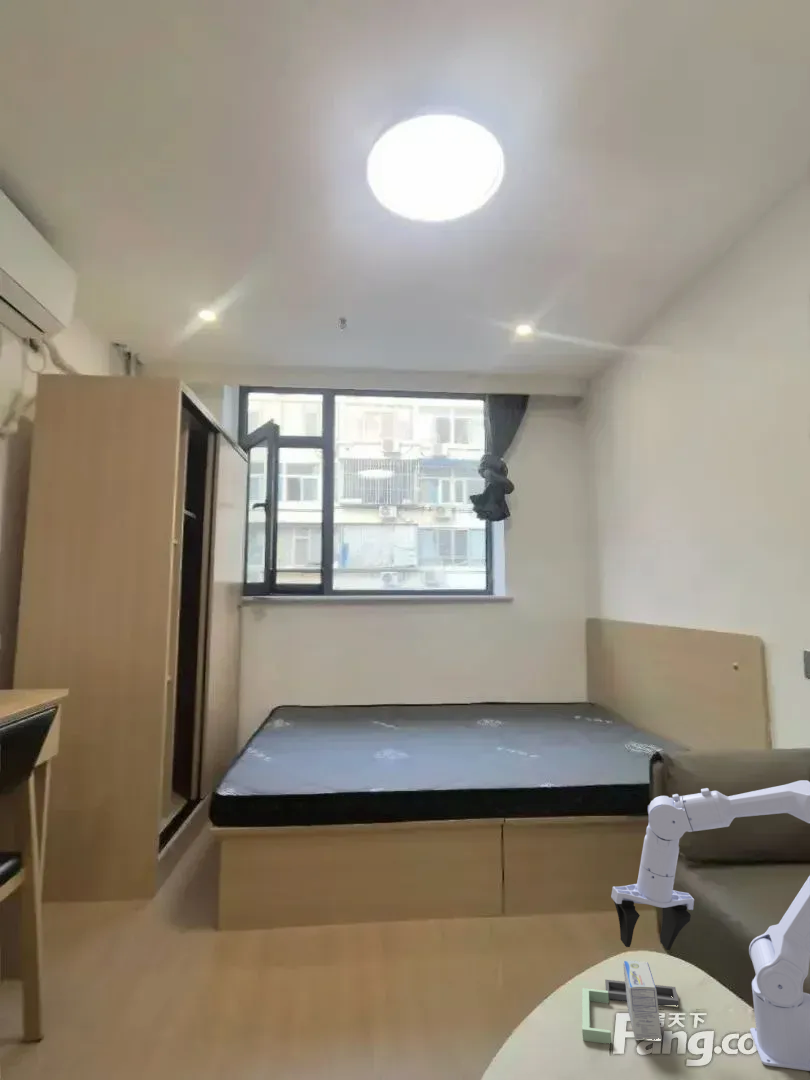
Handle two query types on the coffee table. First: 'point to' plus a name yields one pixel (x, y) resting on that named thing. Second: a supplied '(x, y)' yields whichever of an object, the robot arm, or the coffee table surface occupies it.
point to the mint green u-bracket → (588, 1032)
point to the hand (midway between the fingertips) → (645, 944)
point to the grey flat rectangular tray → (666, 995)
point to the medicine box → (642, 1000)
